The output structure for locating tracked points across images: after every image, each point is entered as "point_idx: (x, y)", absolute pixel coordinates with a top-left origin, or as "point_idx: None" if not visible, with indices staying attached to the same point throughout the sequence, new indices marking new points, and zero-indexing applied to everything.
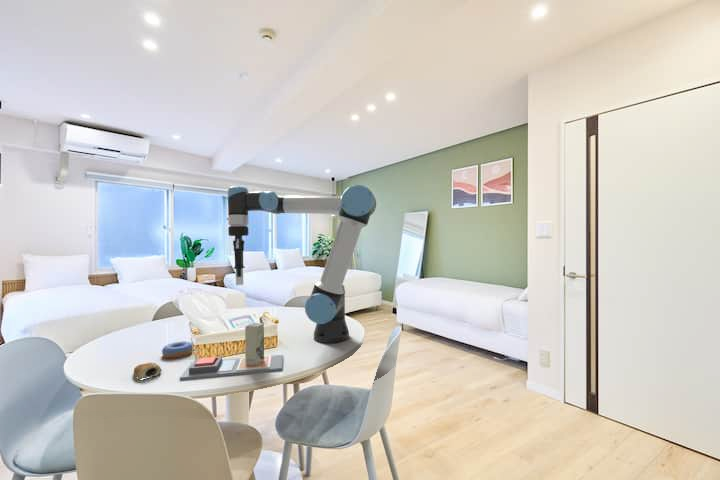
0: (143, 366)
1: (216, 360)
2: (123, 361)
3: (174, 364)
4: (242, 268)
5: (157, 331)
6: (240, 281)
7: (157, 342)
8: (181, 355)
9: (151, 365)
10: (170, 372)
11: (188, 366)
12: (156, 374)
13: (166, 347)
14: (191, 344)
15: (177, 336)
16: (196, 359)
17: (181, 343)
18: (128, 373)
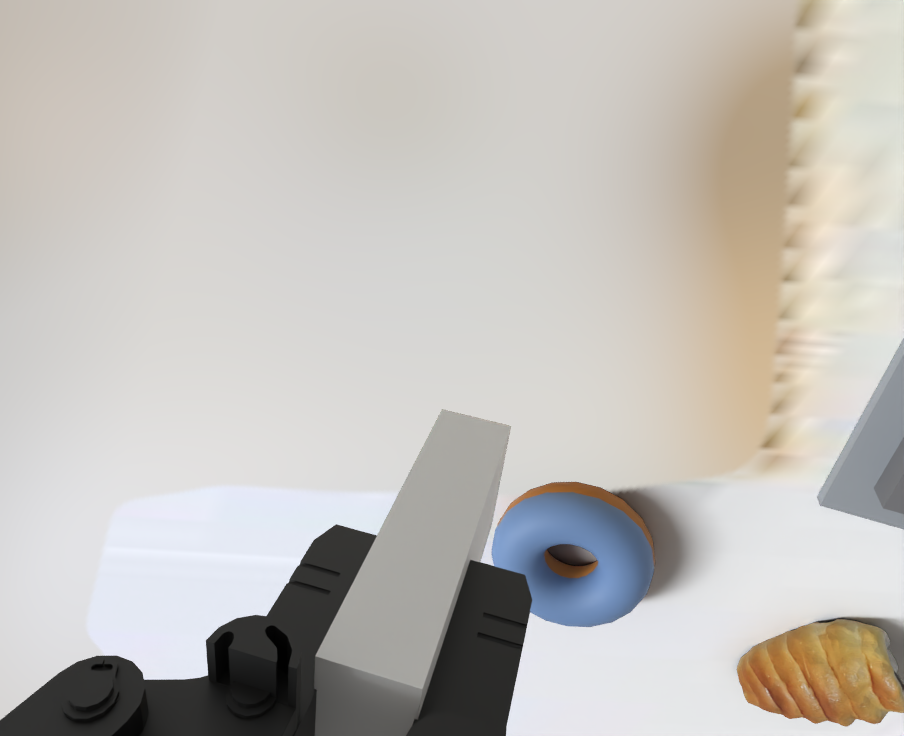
0: (864, 714)
1: None
2: (556, 711)
3: (746, 561)
4: (392, 686)
5: (107, 586)
6: (491, 501)
7: None
8: (651, 537)
9: (864, 687)
10: (870, 583)
11: (886, 523)
12: (889, 640)
13: (592, 622)
14: (577, 512)
15: (227, 517)
16: (899, 508)
17: (536, 555)
18: (749, 706)
